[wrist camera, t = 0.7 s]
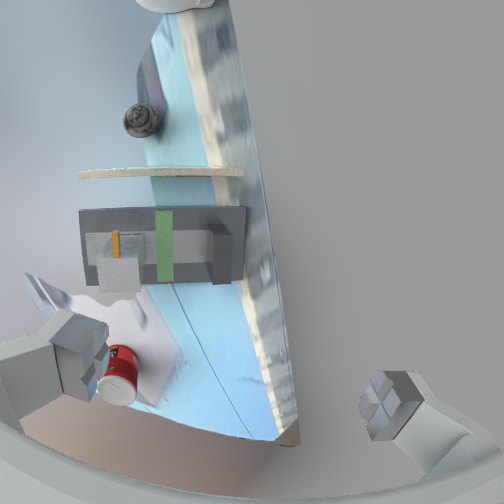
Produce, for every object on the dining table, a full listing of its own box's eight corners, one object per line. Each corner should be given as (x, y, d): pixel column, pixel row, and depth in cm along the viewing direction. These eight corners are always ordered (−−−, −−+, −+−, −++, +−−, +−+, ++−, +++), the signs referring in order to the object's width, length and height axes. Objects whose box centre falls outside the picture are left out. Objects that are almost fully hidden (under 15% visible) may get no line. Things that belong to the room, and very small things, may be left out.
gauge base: (88, 283, 50) (75, 307, 41) (79, 170, 44) (60, 173, 34) (241, 277, 58) (255, 300, 49) (246, 167, 52) (264, 170, 43)
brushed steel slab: (113, 263, 48) (100, 292, 38) (109, 215, 46) (93, 233, 35) (145, 262, 50) (140, 291, 39) (143, 214, 48) (136, 232, 37)
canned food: (113, 337, 55) (106, 371, 45) (145, 356, 58) (144, 390, 48) (97, 359, 55) (90, 393, 45) (128, 376, 58) (125, 411, 48)
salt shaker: (166, 122, 46) (166, 111, 35) (141, 146, 46) (133, 143, 35) (144, 99, 43) (138, 83, 32) (119, 123, 43) (105, 114, 32)
